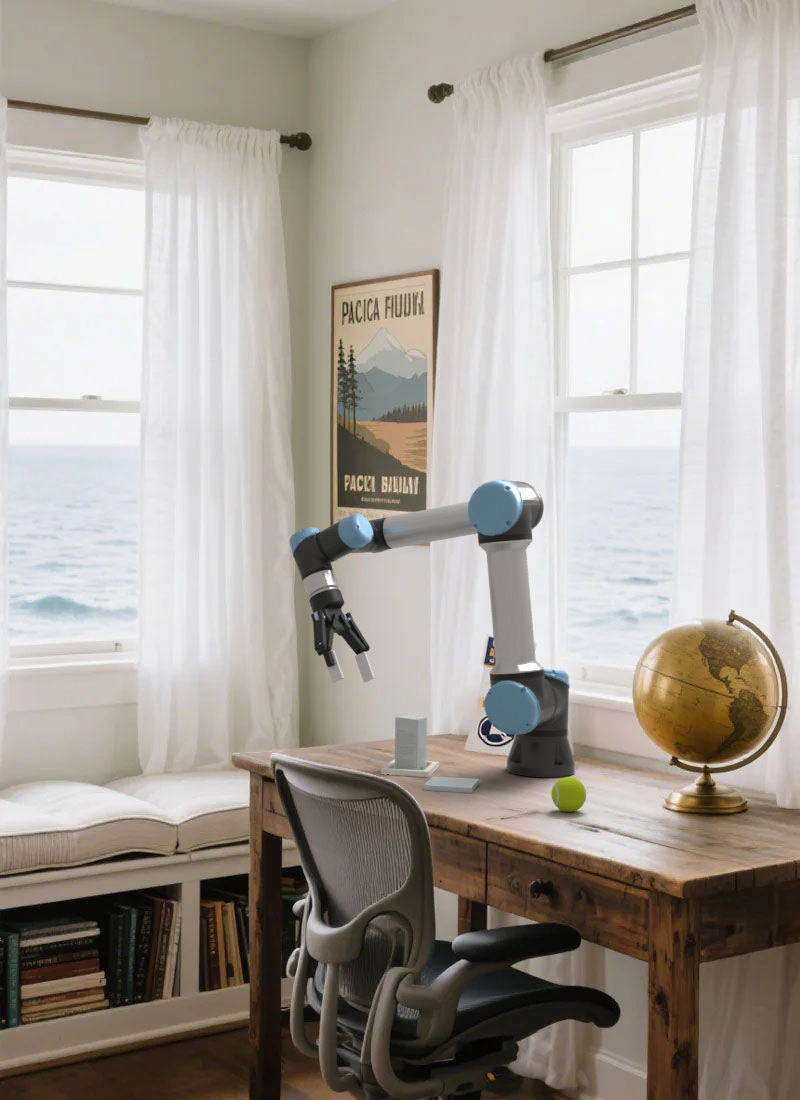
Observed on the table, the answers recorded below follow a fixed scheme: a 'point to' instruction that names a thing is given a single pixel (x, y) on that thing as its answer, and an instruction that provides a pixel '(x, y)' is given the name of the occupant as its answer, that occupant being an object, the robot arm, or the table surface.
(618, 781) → the table surface
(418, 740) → the skincare box
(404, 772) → the grey base tray
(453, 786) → the coaster
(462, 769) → the table surface
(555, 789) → the tennis ball
